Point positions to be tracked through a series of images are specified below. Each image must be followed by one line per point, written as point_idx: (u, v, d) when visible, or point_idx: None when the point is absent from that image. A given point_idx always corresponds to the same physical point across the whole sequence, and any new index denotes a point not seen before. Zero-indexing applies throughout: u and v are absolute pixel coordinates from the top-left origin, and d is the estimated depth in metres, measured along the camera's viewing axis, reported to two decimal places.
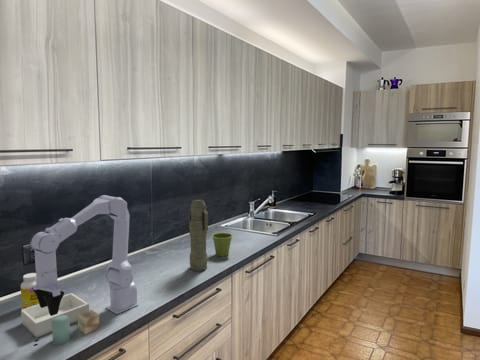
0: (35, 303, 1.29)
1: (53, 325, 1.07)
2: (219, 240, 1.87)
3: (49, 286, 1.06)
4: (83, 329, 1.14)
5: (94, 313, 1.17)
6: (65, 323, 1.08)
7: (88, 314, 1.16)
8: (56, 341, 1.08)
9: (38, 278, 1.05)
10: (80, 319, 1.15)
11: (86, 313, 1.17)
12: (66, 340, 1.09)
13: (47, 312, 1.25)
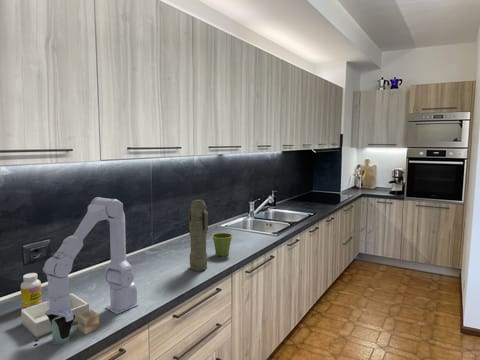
0: (35, 303, 1.29)
1: (53, 325, 1.07)
2: (219, 240, 1.87)
3: (62, 311, 1.07)
4: (83, 329, 1.14)
5: (94, 313, 1.17)
6: None
7: (88, 314, 1.16)
8: (56, 341, 1.08)
9: (51, 303, 1.06)
10: (80, 319, 1.15)
11: (86, 313, 1.17)
12: (66, 340, 1.09)
13: None
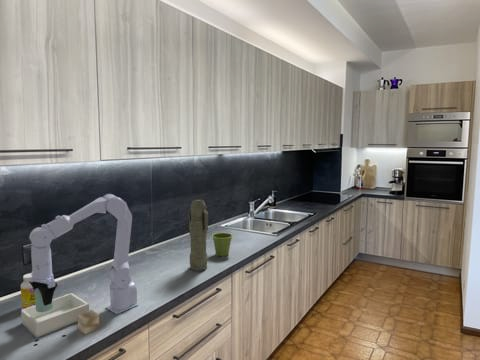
0: None
1: (36, 294, 1.13)
2: (219, 240, 1.87)
3: (44, 278, 1.13)
4: (83, 329, 1.14)
5: (94, 313, 1.17)
6: None
7: (88, 314, 1.16)
8: (38, 309, 1.13)
9: (34, 271, 1.12)
10: (80, 319, 1.15)
11: (86, 313, 1.17)
12: (49, 309, 1.15)
13: (47, 312, 1.25)
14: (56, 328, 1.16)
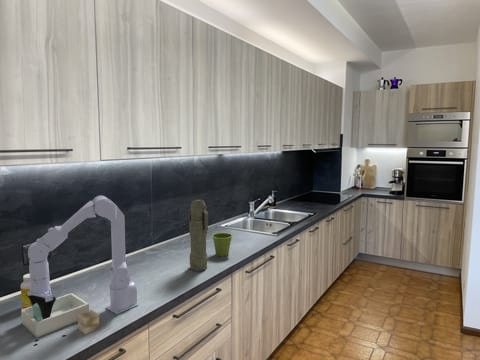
0: None
1: (34, 309, 1.16)
2: (219, 240, 1.87)
3: (42, 292, 1.15)
4: (83, 329, 1.14)
5: (94, 313, 1.17)
6: None
7: (88, 314, 1.16)
8: None
9: (32, 285, 1.14)
10: (80, 319, 1.15)
11: (86, 313, 1.17)
12: None
13: None
14: (56, 328, 1.16)
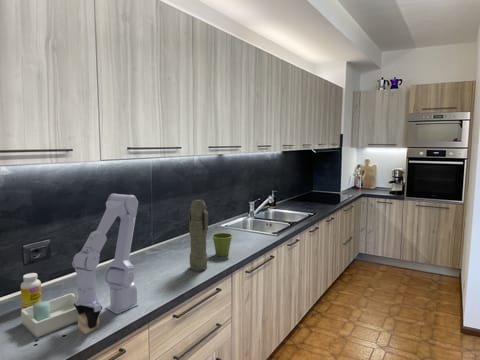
0: (35, 303, 1.29)
1: (34, 309, 1.16)
2: (219, 240, 1.87)
3: (90, 302, 1.13)
4: (83, 329, 1.14)
5: None
6: (46, 307, 1.17)
7: None
8: None
9: (80, 294, 1.13)
10: (80, 319, 1.15)
11: None
12: None
13: None
14: (56, 328, 1.16)
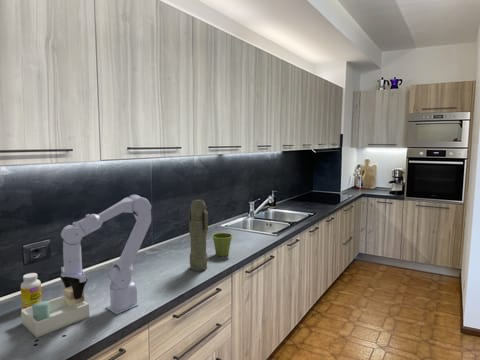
0: None
1: (33, 310, 1.15)
2: (219, 240, 1.87)
3: (75, 274, 1.18)
4: (68, 301, 1.18)
5: None
6: (45, 307, 1.17)
7: None
8: None
9: (66, 266, 1.17)
10: (65, 292, 1.19)
11: (71, 287, 1.21)
12: None
13: None
14: (56, 328, 1.16)
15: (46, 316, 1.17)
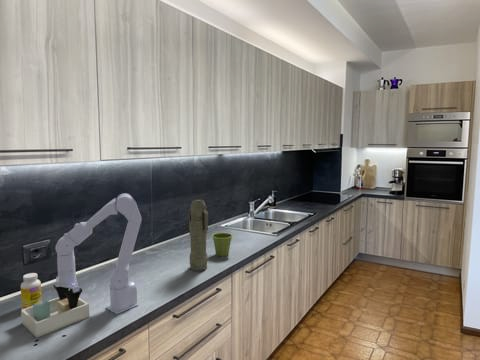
0: (35, 303, 1.29)
1: (35, 309, 1.15)
2: (219, 240, 1.87)
3: (69, 284, 1.22)
4: None
5: None
6: (46, 307, 1.17)
7: None
8: None
9: (60, 277, 1.21)
10: (60, 305, 1.23)
11: (65, 300, 1.25)
12: None
13: None
14: (56, 328, 1.16)
15: (47, 316, 1.17)
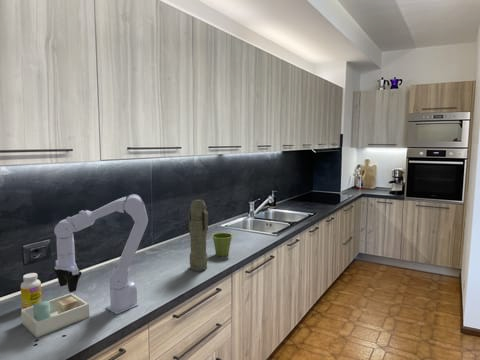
0: (35, 303, 1.29)
1: (35, 309, 1.15)
2: (219, 240, 1.87)
3: (69, 266, 1.22)
4: None
5: (73, 299, 1.26)
6: (47, 307, 1.17)
7: (68, 300, 1.25)
8: None
9: (59, 259, 1.21)
10: (60, 305, 1.23)
11: (65, 300, 1.25)
12: None
13: None
14: (56, 328, 1.16)
15: (47, 316, 1.17)
